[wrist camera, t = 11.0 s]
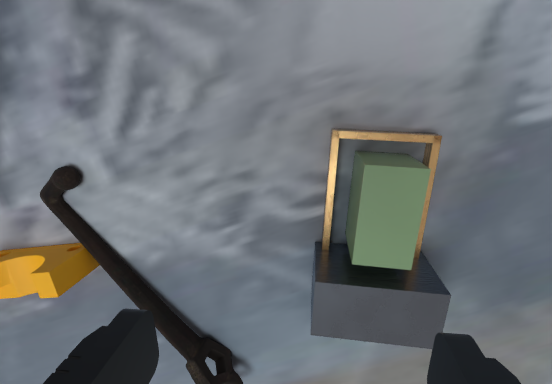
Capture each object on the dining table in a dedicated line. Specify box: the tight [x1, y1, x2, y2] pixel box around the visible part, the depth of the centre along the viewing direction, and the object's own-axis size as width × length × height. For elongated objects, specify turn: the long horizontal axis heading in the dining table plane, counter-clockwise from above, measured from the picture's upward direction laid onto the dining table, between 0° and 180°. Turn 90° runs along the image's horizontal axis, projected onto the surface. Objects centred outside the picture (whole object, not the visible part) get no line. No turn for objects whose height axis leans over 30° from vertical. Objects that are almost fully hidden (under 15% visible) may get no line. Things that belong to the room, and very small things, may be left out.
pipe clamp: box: [0, 243, 100, 299], centre depth 33 cm, size 12×4×6 cm, turn 99°
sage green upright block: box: [345, 151, 431, 270], centre depth 26 cm, size 8×4×6 cm, turn 177°
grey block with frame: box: [311, 129, 451, 349], centre depth 26 cm, size 16×10×7 cm, turn 178°
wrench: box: [40, 166, 243, 384], centre depth 33 cm, size 5×5×30 cm
